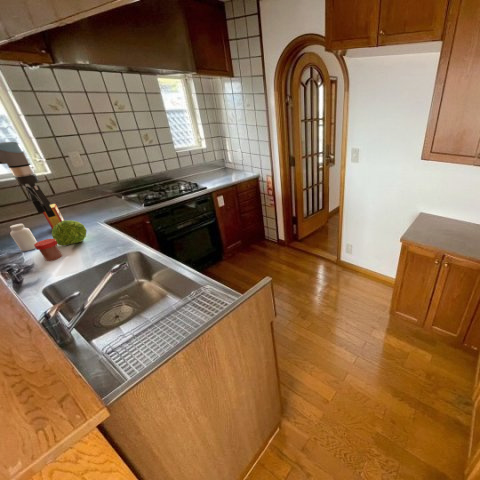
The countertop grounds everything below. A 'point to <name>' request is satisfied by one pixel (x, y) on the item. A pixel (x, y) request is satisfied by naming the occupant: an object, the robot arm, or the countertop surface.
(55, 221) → the baking soda box
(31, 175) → the robot arm
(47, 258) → the jar
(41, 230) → the countertop surface
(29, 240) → the pill bottle
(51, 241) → the cap
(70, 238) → the lettuce
